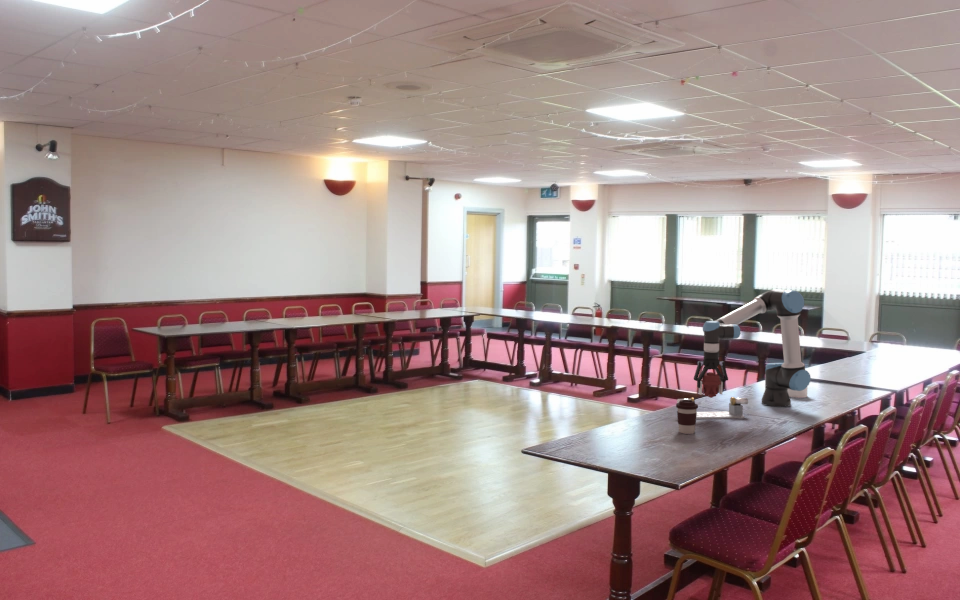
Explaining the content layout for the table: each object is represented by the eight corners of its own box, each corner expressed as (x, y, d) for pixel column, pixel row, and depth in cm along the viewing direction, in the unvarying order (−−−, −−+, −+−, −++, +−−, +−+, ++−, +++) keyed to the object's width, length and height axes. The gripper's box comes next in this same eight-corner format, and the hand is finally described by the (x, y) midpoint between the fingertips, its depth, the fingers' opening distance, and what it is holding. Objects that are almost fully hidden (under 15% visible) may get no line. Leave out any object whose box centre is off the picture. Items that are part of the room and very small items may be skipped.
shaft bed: (742, 413, 396) (742, 394, 395) (751, 418, 384) (751, 399, 383) (674, 414, 395) (674, 395, 394) (681, 419, 383) (681, 400, 382)
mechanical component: (719, 395, 393) (721, 398, 383) (699, 394, 395) (701, 398, 385) (720, 371, 392) (722, 374, 382) (700, 371, 394) (701, 374, 384)
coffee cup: (701, 432, 356) (701, 400, 355) (690, 436, 349) (691, 404, 348) (682, 428, 363) (683, 398, 362) (671, 432, 356) (672, 401, 355)
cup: (781, 395, 441) (782, 375, 440) (791, 393, 449) (791, 373, 448) (801, 398, 432) (802, 378, 432) (810, 395, 440) (811, 375, 439)
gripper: (730, 350, 391) (729, 392, 393) (687, 350, 390) (686, 392, 392) (735, 352, 384) (734, 395, 385) (691, 352, 383) (691, 395, 385)
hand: (710, 394), depth 389 cm, fingers closed on mechanical component, 10 cm apart
